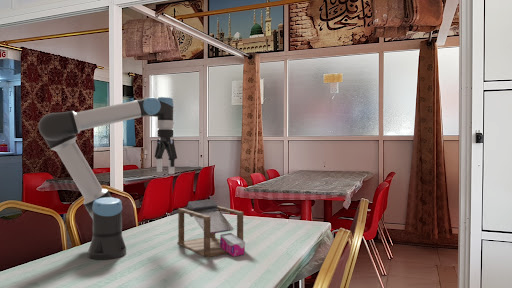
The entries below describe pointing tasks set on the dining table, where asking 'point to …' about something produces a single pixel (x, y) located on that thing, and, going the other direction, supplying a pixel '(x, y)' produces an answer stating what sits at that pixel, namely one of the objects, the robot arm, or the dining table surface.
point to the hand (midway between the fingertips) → (165, 172)
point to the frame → (206, 233)
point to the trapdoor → (209, 209)
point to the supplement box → (232, 244)
